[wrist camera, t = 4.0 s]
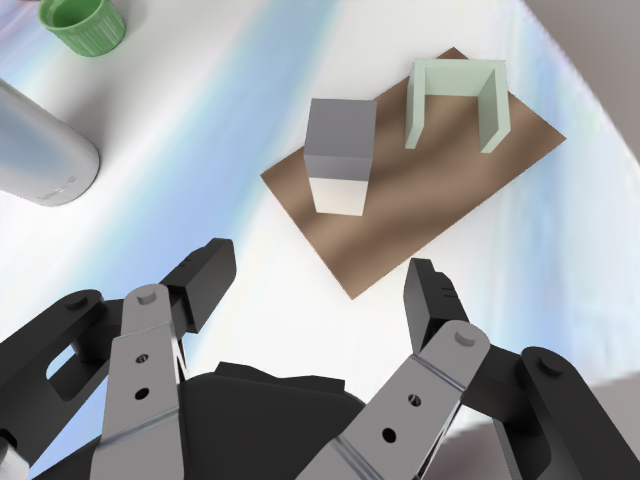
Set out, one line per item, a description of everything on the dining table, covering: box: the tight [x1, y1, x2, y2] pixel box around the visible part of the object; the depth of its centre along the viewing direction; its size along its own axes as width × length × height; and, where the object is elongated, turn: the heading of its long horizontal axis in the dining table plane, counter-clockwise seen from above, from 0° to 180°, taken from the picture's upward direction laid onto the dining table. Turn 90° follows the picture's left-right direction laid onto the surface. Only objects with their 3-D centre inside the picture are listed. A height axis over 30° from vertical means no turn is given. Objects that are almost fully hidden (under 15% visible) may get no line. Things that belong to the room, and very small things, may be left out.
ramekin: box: [37, 0, 125, 57], centre depth 37 cm, size 9×9×4 cm
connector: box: [303, 99, 377, 216], centre depth 23 cm, size 4×4×10 cm
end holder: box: [405, 58, 511, 153], centre depth 28 cm, size 8×8×4 cm
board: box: [260, 47, 567, 300], centre depth 29 cm, size 16×27×1 cm, turn 126°
